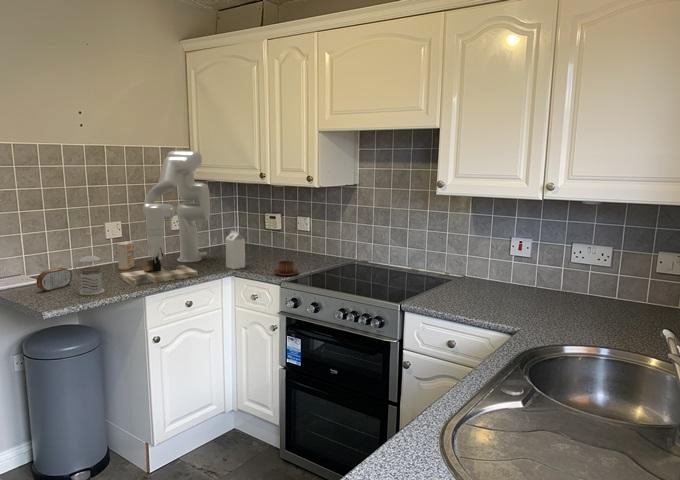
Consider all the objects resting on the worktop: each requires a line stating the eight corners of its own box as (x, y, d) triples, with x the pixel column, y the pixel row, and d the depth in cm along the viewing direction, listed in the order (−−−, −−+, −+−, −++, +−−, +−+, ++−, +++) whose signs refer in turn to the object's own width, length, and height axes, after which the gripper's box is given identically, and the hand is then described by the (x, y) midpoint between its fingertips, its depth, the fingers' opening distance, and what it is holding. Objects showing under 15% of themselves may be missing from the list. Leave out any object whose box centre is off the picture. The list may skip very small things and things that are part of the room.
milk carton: (237, 265, 264) (237, 229, 261) (245, 267, 259) (244, 231, 256) (225, 267, 259) (225, 231, 256) (233, 269, 254) (232, 232, 251)
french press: (99, 294, 205) (95, 234, 201) (70, 295, 204) (65, 234, 200) (108, 288, 215) (105, 231, 210) (80, 288, 214) (76, 230, 210)
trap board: (183, 270, 251) (182, 265, 251) (197, 276, 238) (197, 271, 238) (120, 278, 232) (120, 273, 232) (132, 286, 219) (132, 280, 219)
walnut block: (153, 270, 238) (150, 261, 239) (158, 268, 236) (155, 259, 236) (144, 272, 235) (142, 262, 235) (149, 270, 232) (147, 260, 232)
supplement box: (128, 270, 249) (126, 244, 247) (118, 270, 249) (116, 244, 247) (135, 266, 257) (133, 241, 255) (125, 266, 257) (124, 241, 255)
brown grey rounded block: (68, 284, 221) (67, 265, 220) (73, 285, 220) (72, 266, 218) (36, 292, 207) (35, 272, 206) (42, 293, 206) (40, 273, 205)
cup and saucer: (302, 275, 244) (302, 263, 243) (279, 278, 238) (279, 265, 237) (292, 270, 254) (292, 259, 253) (269, 273, 248) (269, 261, 247)
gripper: (141, 230, 234) (143, 269, 237) (153, 234, 223) (154, 275, 226) (157, 229, 239) (159, 267, 242) (169, 233, 228) (171, 273, 230)
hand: (157, 271), depth 234 cm, fingers closed
